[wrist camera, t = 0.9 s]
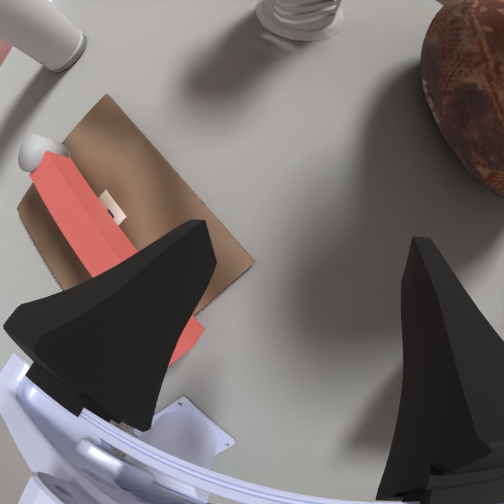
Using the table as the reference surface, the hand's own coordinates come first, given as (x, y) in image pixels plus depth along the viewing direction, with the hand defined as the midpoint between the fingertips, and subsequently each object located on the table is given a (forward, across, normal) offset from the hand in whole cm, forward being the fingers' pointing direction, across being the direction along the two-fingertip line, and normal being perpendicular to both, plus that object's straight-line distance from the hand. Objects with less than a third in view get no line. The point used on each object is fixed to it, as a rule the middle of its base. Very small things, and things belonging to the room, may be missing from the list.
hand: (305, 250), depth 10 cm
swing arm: (+7, +19, +6) cm, 21 cm away
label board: (+8, +20, +6) cm, 23 cm away
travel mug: (+19, +31, -14) cm, 39 cm away
